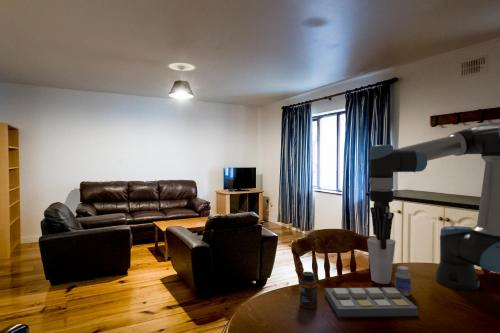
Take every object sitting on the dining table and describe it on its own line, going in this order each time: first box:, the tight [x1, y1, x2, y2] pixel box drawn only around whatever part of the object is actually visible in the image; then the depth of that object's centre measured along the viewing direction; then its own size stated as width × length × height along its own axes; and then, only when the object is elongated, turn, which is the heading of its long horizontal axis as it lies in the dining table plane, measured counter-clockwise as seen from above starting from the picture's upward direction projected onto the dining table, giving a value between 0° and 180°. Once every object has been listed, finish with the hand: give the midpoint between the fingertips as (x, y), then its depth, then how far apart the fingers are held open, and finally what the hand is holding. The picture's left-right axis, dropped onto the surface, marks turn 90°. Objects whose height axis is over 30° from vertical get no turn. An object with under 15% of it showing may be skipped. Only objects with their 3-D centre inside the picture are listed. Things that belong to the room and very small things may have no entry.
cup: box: [366, 236, 396, 285], centre depth 129 cm, size 11×10×17 cm
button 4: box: [333, 287, 349, 299], centre depth 109 cm, size 4×4×2 cm
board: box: [324, 286, 419, 318], centre depth 107 cm, size 26×16×3 cm, turn 91°
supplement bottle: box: [299, 271, 318, 310], centre depth 107 cm, size 6×6×11 cm
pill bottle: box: [394, 265, 412, 297], centre depth 117 cm, size 5×5×10 cm
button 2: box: [365, 287, 383, 298], centre depth 109 cm, size 4×4×2 cm
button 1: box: [381, 286, 400, 298], centre depth 110 cm, size 4×4×2 cm
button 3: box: [348, 287, 366, 298], centre depth 109 cm, size 4×4×2 cm
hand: (381, 257), depth 106 cm, fingers closed
